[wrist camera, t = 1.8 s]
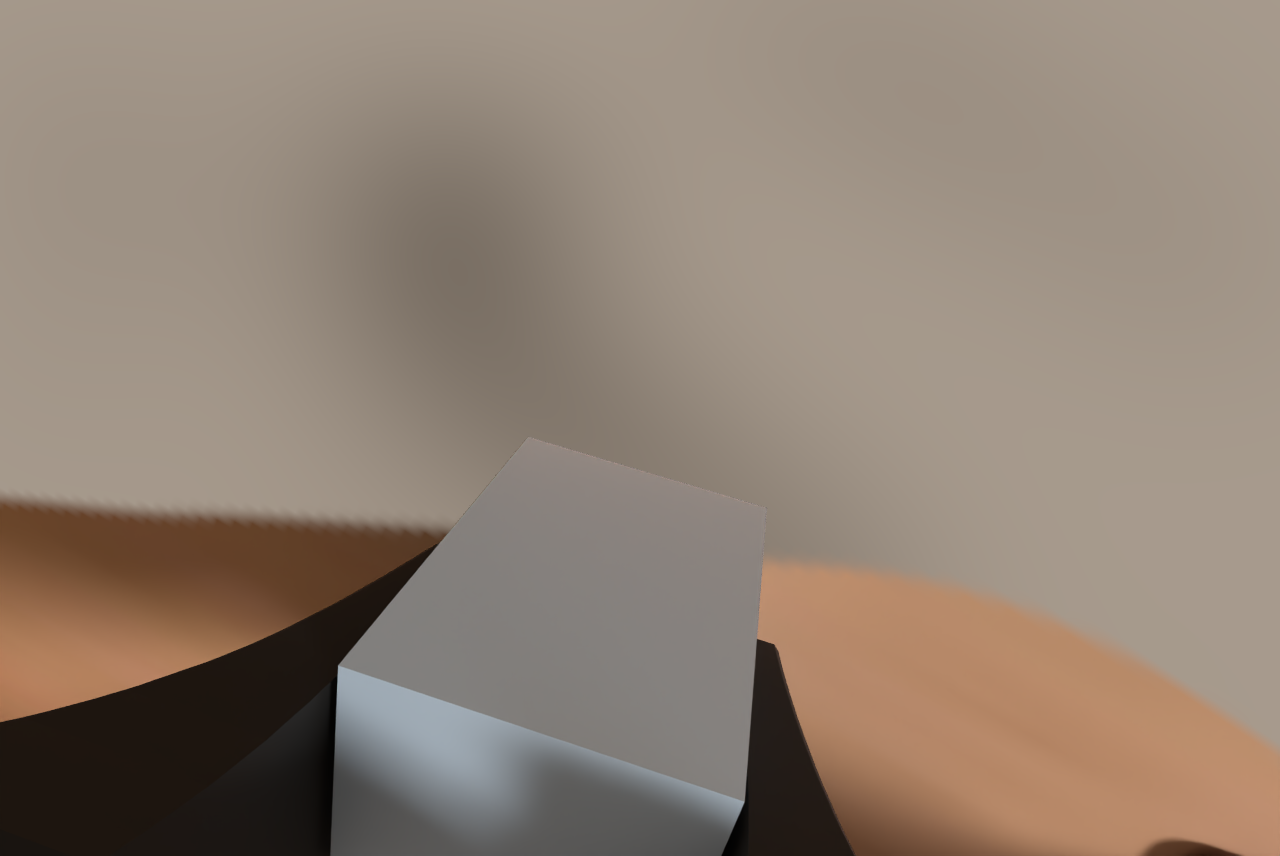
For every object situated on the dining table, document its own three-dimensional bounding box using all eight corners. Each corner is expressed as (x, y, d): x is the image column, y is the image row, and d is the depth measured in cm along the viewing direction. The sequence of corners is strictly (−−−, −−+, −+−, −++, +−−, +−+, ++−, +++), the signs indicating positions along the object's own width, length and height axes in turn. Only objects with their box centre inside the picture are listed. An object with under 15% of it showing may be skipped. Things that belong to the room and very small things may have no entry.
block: (766, 507, 13) (744, 801, 7) (702, 689, 15) (647, 1025, 9) (528, 436, 13) (339, 665, 8) (496, 621, 15) (328, 907, 10)
